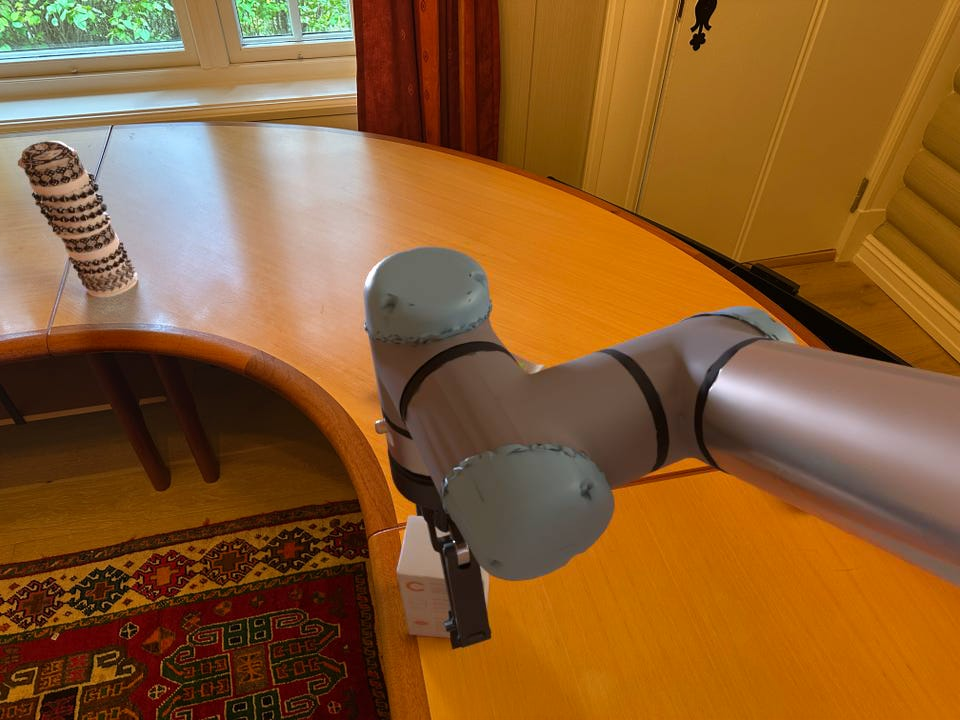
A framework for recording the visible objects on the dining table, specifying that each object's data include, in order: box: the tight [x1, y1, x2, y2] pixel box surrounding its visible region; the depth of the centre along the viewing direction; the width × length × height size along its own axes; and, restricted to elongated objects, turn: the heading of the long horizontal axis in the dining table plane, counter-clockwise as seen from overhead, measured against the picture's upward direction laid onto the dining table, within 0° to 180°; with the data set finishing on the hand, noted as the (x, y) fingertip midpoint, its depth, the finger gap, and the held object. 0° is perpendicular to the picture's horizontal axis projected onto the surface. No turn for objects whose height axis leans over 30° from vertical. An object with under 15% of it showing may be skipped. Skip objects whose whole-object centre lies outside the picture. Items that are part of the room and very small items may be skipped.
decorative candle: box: [17, 140, 139, 298], centre depth 99 cm, size 9×9×25 cm
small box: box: [396, 514, 490, 639], centre depth 61 cm, size 8×6×13 cm
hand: (446, 574), depth 60 cm, fingers open, 13 cm apart
